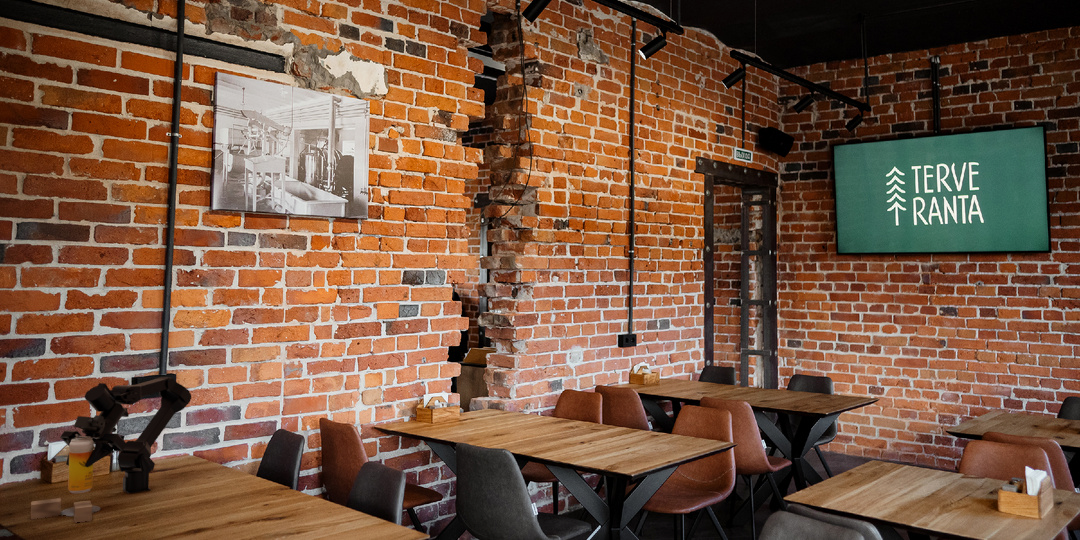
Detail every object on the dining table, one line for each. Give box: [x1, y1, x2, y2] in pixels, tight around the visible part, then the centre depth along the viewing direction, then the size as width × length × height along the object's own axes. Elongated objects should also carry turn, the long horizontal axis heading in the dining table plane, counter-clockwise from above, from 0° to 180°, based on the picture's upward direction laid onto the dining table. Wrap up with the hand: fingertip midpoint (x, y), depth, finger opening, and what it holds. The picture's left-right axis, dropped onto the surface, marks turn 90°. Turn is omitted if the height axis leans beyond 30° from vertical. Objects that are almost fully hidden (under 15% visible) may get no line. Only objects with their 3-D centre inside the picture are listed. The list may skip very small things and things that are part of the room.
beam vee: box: [30, 497, 101, 524], centre depth 219 cm, size 15×20×4 cm
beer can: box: [67, 438, 95, 494], centre depth 222 cm, size 6×6×15 cm
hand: (76, 465), depth 221 cm, fingers closed on beer can, 6 cm apart
